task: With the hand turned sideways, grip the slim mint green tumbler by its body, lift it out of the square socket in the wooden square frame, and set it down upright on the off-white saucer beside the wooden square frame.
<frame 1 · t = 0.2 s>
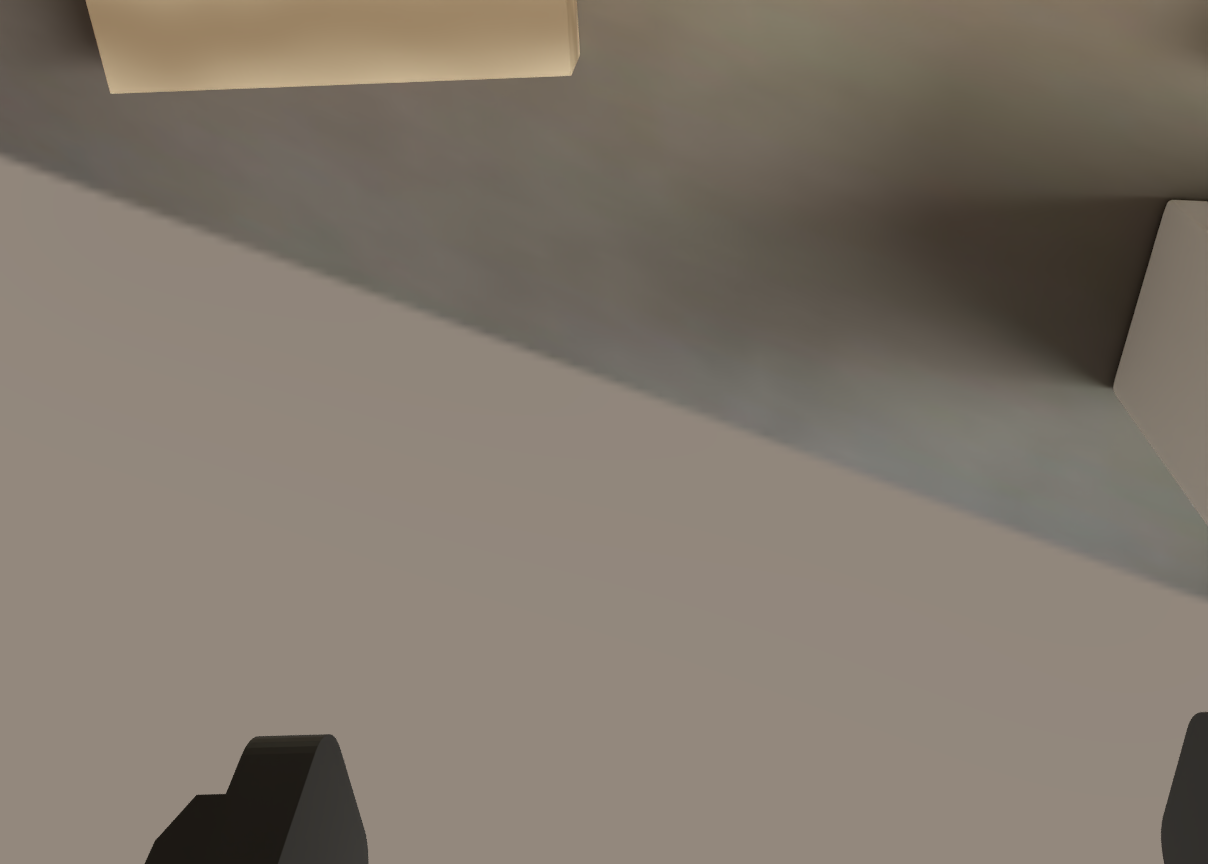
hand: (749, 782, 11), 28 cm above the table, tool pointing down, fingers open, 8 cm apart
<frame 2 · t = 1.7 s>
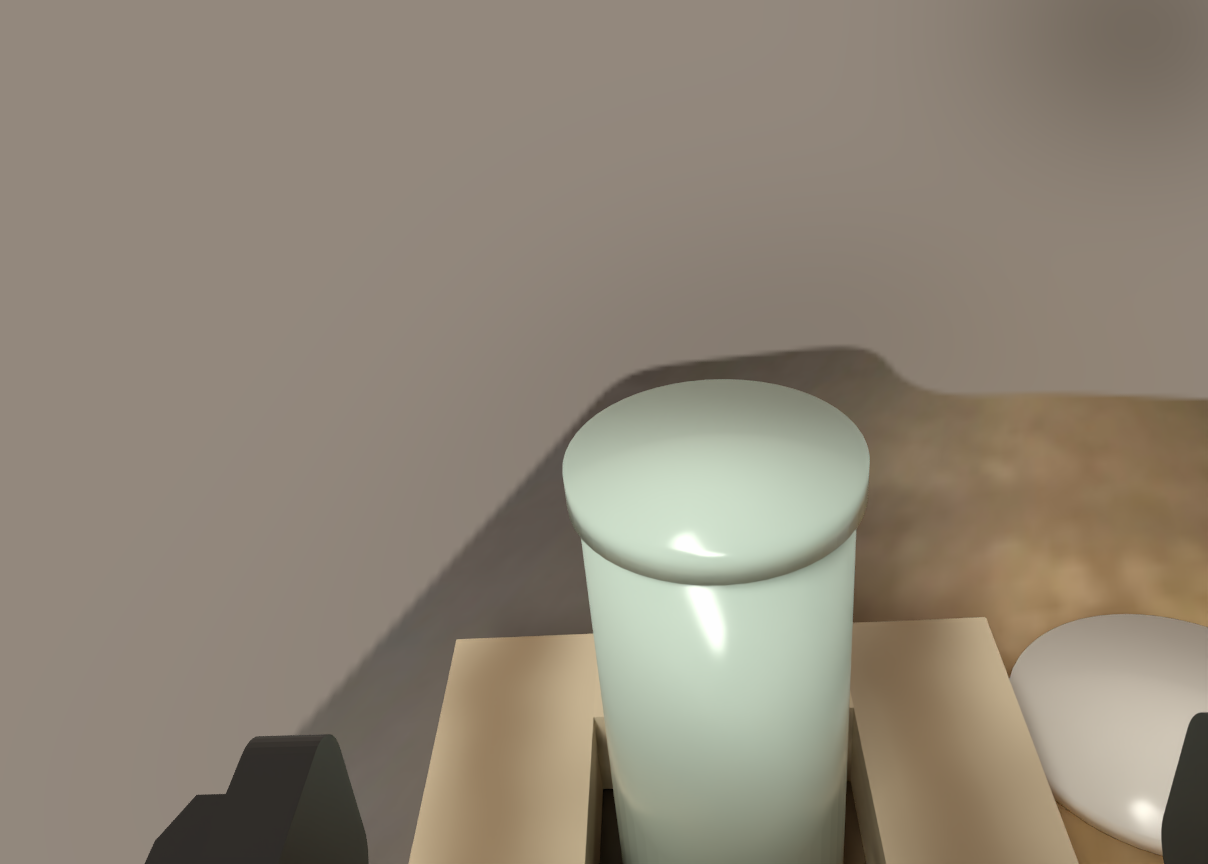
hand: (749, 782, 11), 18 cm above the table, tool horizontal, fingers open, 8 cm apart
mint green tumbler: (722, 679, 26), in the wooden square frame
saucer: (1167, 732, 32), on the table
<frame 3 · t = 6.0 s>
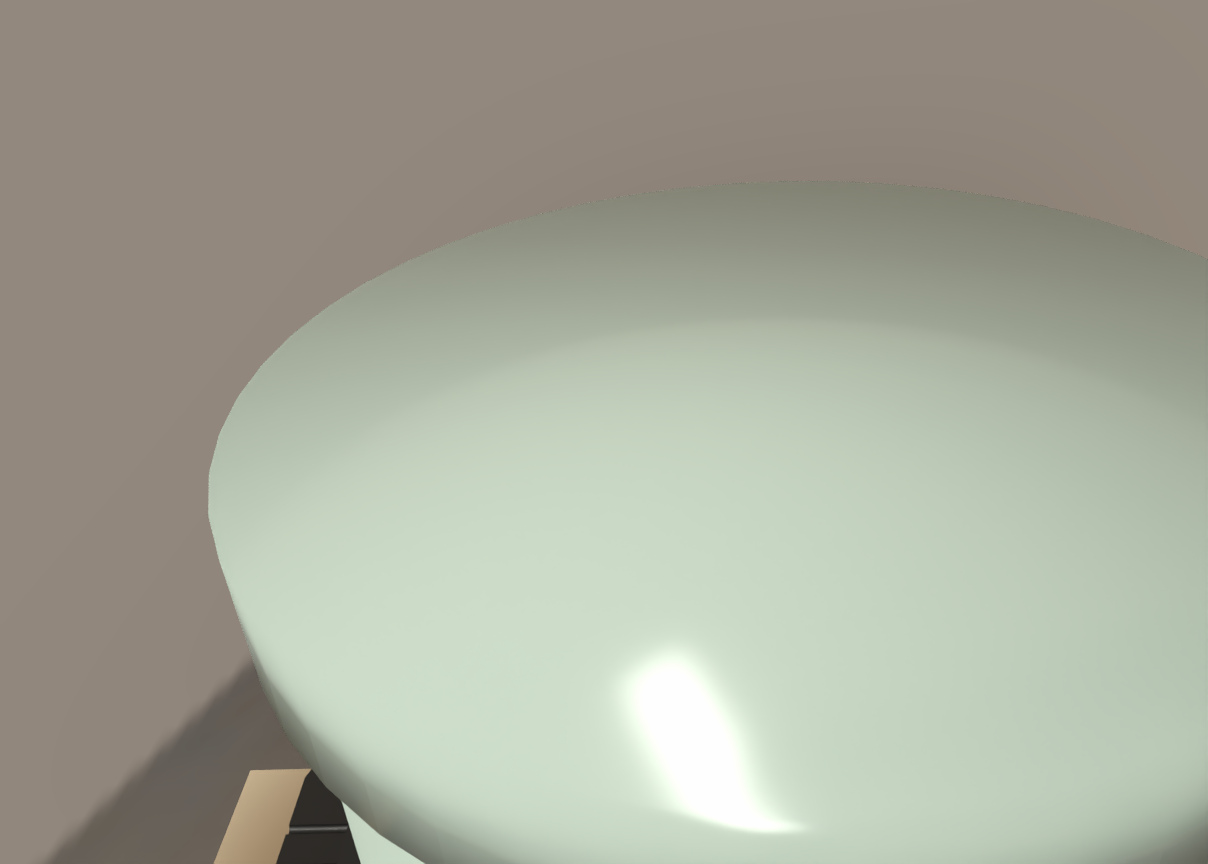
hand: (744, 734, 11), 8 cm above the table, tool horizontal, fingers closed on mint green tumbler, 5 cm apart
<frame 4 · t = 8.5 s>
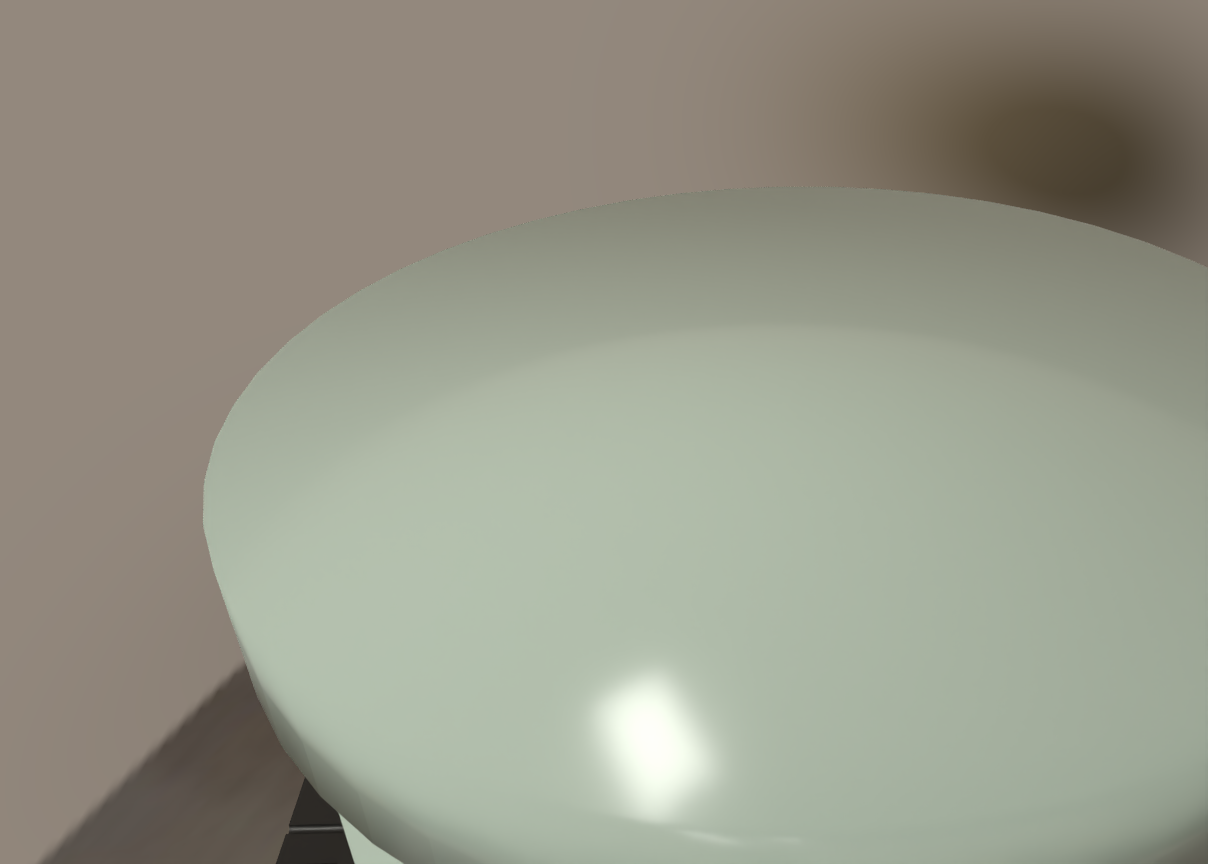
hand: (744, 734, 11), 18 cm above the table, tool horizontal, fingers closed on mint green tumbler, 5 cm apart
when the fingers open (10 cm above the table, at t = 10.9 s): mint green tumbler drops 1 cm, resting on saucer.
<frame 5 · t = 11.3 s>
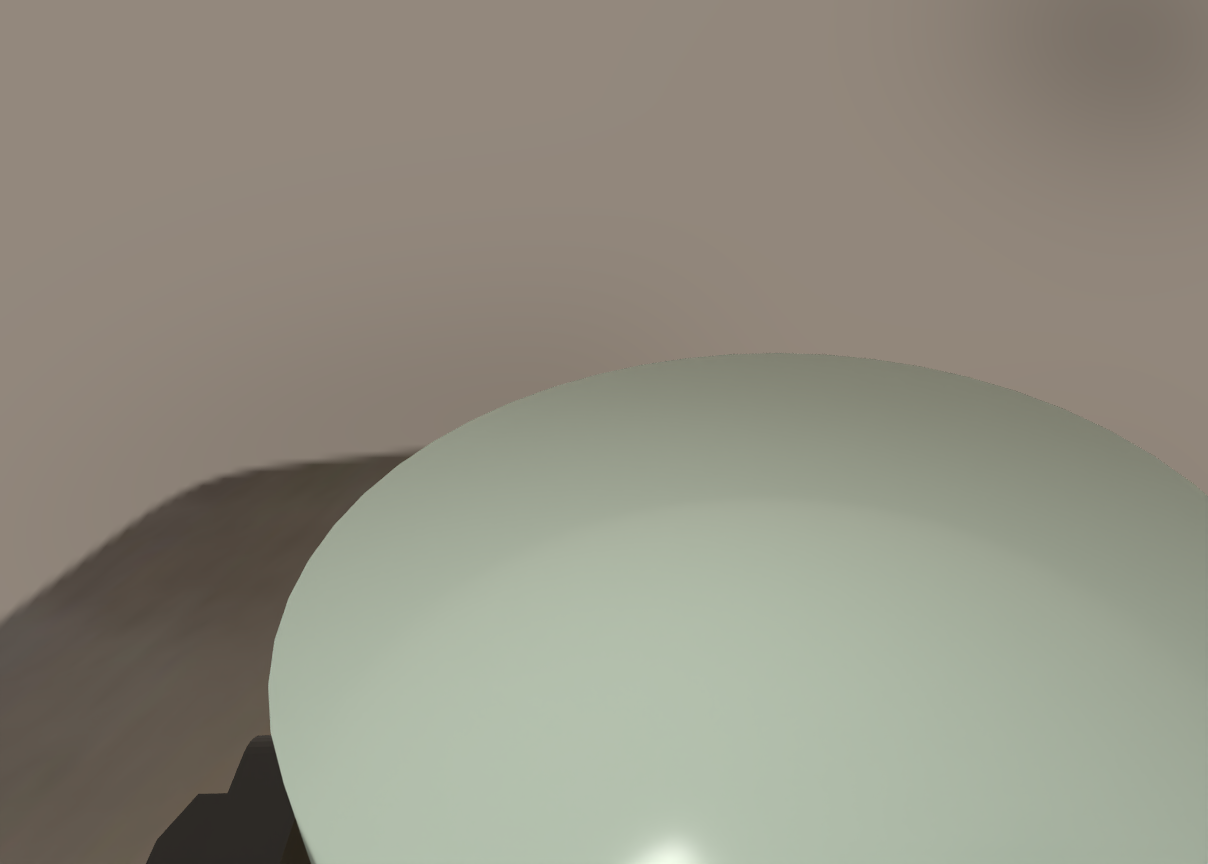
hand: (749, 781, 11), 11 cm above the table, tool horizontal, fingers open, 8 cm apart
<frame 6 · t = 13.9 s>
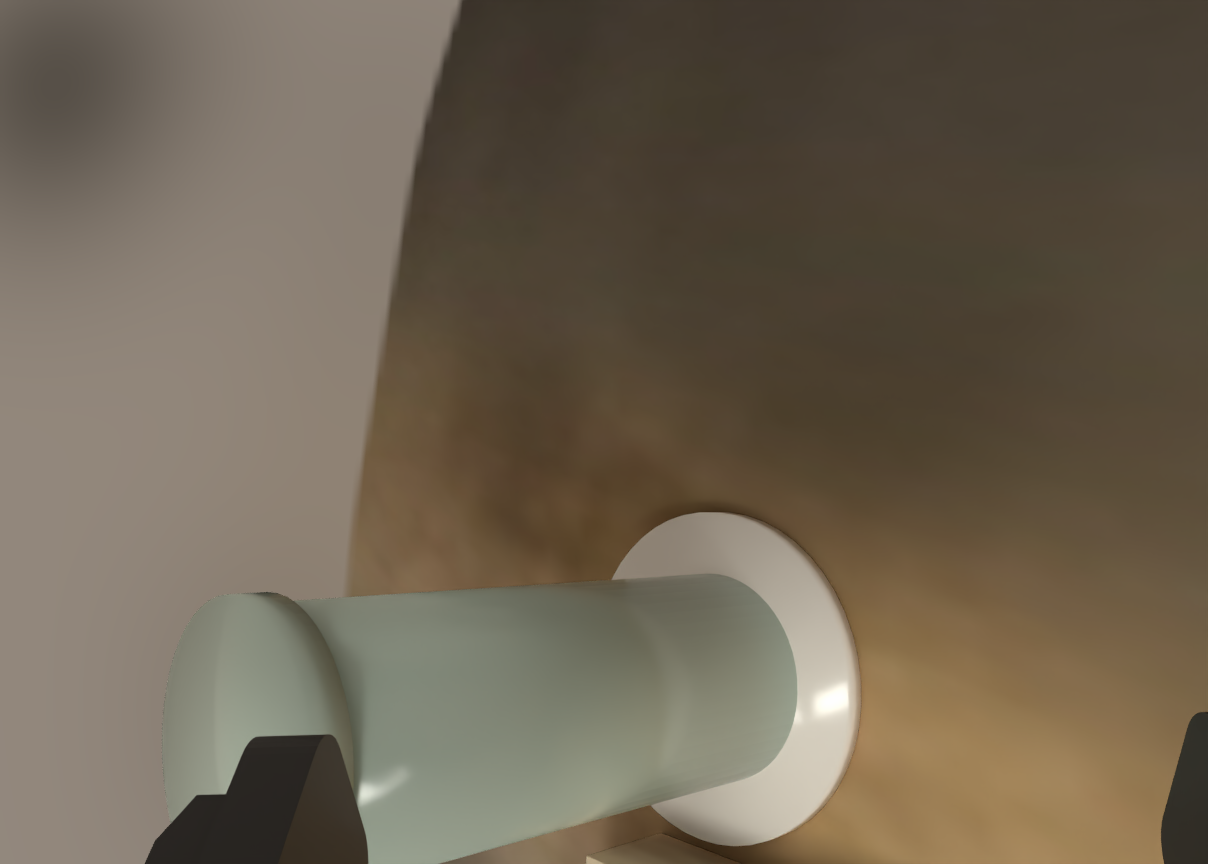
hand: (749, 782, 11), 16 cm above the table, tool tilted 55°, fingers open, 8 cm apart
mint green tumbler: (493, 701, 26), on the saucer, point 8 cm above the table
saucer: (722, 673, 31), on the table
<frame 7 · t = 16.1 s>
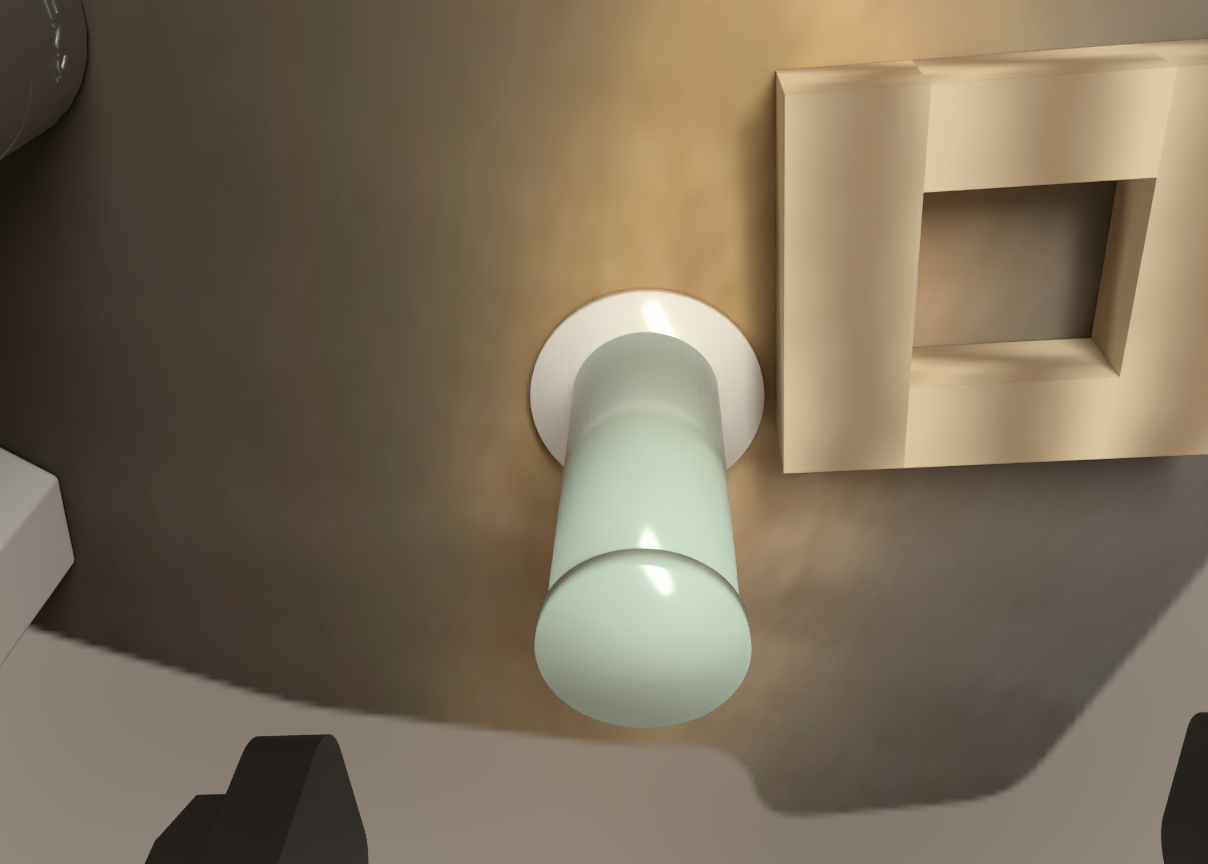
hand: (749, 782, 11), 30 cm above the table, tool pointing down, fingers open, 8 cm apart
mint green tumbler: (646, 525, 37), on the saucer, point 8 cm above the table
saucer: (646, 393, 43), on the table
wooden square frame: (1002, 253, 40), on the table
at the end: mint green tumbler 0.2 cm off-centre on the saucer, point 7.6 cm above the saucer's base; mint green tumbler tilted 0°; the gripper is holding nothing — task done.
